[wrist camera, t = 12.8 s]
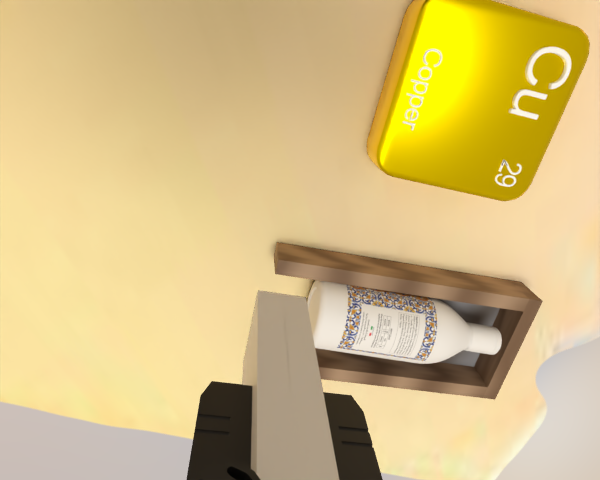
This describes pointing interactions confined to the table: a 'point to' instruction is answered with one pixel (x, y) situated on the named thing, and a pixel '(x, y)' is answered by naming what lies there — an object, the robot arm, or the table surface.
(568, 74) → the element tile
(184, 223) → the table surface
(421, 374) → the brown wooden tray
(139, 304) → the table surface
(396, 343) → the bath foam
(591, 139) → the table surface
